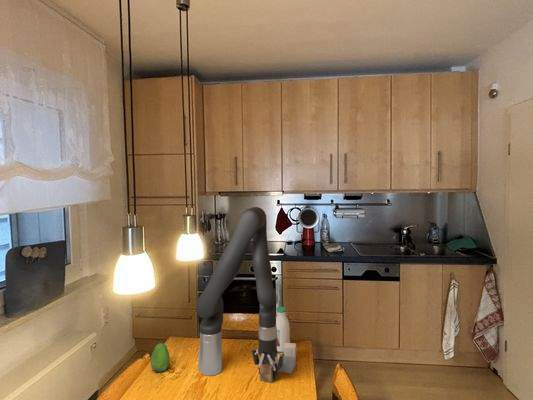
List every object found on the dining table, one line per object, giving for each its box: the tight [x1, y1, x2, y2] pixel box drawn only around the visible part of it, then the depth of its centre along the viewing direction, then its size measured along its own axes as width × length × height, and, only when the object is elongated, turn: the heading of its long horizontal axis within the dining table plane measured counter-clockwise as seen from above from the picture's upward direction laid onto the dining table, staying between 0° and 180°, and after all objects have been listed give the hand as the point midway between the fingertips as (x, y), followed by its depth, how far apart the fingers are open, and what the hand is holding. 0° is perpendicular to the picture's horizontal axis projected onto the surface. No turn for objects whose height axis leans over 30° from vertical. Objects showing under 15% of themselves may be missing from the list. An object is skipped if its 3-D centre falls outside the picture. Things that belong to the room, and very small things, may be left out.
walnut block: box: [259, 361, 275, 384], centre depth 142 cm, size 5×5×6 cm
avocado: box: [150, 342, 171, 373], centre depth 149 cm, size 8×8×12 cm
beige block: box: [283, 342, 297, 358], centre depth 158 cm, size 5×5×6 cm
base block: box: [276, 355, 297, 375], centre depth 150 cm, size 7×7×4 cm
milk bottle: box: [276, 306, 291, 353], centre depth 167 cm, size 8×8×20 cm
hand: (268, 376), depth 142 cm, fingers closed on walnut block, 5 cm apart
